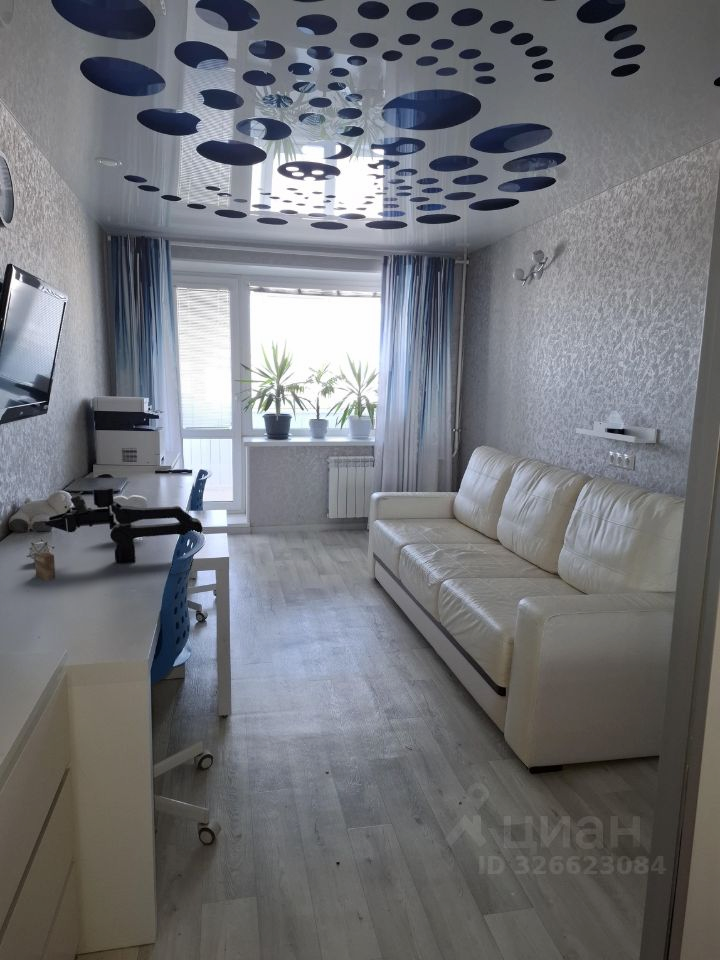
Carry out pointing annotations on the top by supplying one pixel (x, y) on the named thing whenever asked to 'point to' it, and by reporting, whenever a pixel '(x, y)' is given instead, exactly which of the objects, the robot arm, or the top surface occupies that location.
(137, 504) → the heart sculpture
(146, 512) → the robot arm
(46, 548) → the game die
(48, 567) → the walnut block
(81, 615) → the top surface
